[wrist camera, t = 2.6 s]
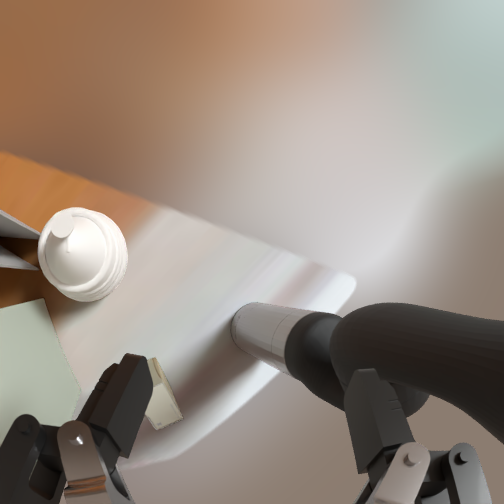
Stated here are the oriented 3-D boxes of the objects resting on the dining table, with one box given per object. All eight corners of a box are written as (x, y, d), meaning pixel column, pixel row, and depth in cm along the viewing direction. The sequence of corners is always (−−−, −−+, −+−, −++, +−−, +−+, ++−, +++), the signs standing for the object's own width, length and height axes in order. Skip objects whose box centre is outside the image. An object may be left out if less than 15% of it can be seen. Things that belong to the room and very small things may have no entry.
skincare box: (170, 386, 40) (186, 420, 29) (147, 396, 38) (156, 432, 27) (154, 355, 40) (164, 381, 29) (130, 364, 38) (132, 394, 27)
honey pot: (51, 221, 34) (10, 187, 18) (124, 213, 40) (123, 173, 24) (58, 302, 34) (16, 318, 18) (132, 294, 40) (133, 306, 23)
